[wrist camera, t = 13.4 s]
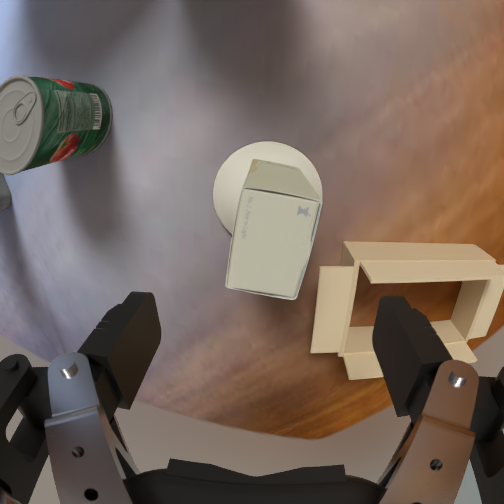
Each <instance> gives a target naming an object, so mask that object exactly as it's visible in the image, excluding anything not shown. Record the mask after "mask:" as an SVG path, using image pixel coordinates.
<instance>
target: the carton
mask: <svg viewBox="0 0 504 504" xmlns="http://www.w3.org/2000/svg"><path fill="white" fill-rule="evenodd" d="M495 261H496V260H495V259H494V258H492V257H491V256H490V255H488V254H487V253H486V252H484V251H483V250H482V249H480V248H479V247H478V246H476V245H475V244H443V243H401V242H347V241H343V251H342V260H341V266H320V269H319V280H318V290H317V300H316V309H315V318H314V327H313V335H312V343H311V350H310V352H311V353H333V352H337V354H338V357H343V359H344V362H345V366H346V370H347V374H348V378H349V380H355V379H367V378H378V377H384V376H383V373H382V371H381V368H380V365H379V362H378V360H377V357H376V354H375V352H374V349H373V345H372V333H373V329H374V326H364V327H349V325H350V319H351V314H352V308H353V303H354V297H355V291H356V285H357V278H358V272H359V266H361V267H362V269H363V271H364V272H365V274H366V276H367V277H368V279H369V281H370V282H371V283H411V282H442V281H462V285H461V288H460V291H459V295H458V298H457V301H456V304H455V307H454V310H453V313H452V316H451V319H450V320H444V321H434V322H430V323H431V325H432V327H433V328H434V329H435V331H436V332H437V335H438V336H439V337H440V339H441V340H442V342H443V343H444V345H445V347H446V348H447V350H448V351H449V353H450V355H451V356H452V358H453V360H460V361H463V362H466V363H473V362H476V361H477V358H476V357H475V355H474V354H473V352H472V351H471V350H470V348H469V347H468V345H467V344H466V343H467V342H468V339H471V338H477V337H483V336H486V333H487V331H488V329H489V326H490V324H491V321H492V319H493V316H494V314H495V311H496V309H497V306H498V303H499V300H500V298H501V295H502V292H503V289H504V265H498V264H496V263H495Z"/></svg>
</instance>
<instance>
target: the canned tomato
mask: <svg viewBox="0 0 504 504" xmlns="http://www.w3.org/2000/svg"><path fill="white" fill-rule="evenodd" d="M111 122H112V107H111V103H110V100H109V98H108V96H107V94H106V93H105V92H104V90H103V89H101V88H100V87H98V86H96V85H94V84H88V83H80V82H74V81H66V80H59V79H49V78H38V77H26V76H14V77H11V78H9V79H8V80H6V81H5V82H4V83H3V84H1V85H0V172H1V173H3V174H6V175H14V174H17V173H19V172H21V171H25V170H29V169H32V168H35V167H39V166H42V165H46V164H50V163H54V162H58V161H62V160H66V159H70V158H74V157H78V156H84V155H88V154H90V153H92V152H94V151H95V150H96V149H97V148H99V147H100V145H101V144H102V143H103V142H104V140H105V139H106V137H107V135H108V132H109V130H110V127H111Z"/></svg>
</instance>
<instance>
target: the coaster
mask: <svg viewBox="0 0 504 504" xmlns="http://www.w3.org/2000/svg"><path fill="white" fill-rule="evenodd" d="M253 159H259V160H265V161H271V162H276V163H281V164H285V165H289V166H294V167H298V168H299V169H300V170H301V172H302V173H303V175H304V176H305V177H306V179H307V180H308V182H309V183H310V184H311V186H312V187H313V189H314V190H315V192H316V193H317V194H318V196H319V197H320V199H321V200H322V185H321V181H320V178H319V175H318V173H317V171H316V169H315V167H314V166H313V164H312V163H311V162H310V161H309V159H308V158H307V157H306V156H304V155H303V154H302V153H301V152H299V151H298V150H296V149H295V148H293V147H291V146H289V145H286V144H283V143H278V142H271V141H264V142H257V143H252V144H249V145H247V146H244V147H242V148H240V149H239V150H237V151H236V152H234V153H233V154H232V155H231V156H230V157H229V158H228V159H227V160H226V161H225V162H224V163H223V165H222V166H221V168H220V170H219V172H218V174H217V176H216V179H215V183H214V189H213V200H214V206H215V210H216V212H217V215H218V217H219V219H220V221H221V223H222V224H223V225H224V227H225V228H226V229H227V230H228V231H229V232H230V233H231V234H232V233H233V227H234V222H235V216H236V211H237V206H238V201H239V197H240V193H241V189H242V187H243V185H244V182H245V180H246V177H247V174H248V172H249V169H250V166H251V163H252V160H253Z"/></svg>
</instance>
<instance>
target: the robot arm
mask: <svg viewBox="0 0 504 504" xmlns="http://www.w3.org/2000/svg"><path fill="white" fill-rule="evenodd" d="M160 341H161V326H160V322H159V317H158V312H157V307H156V302H155V298H154V295H153V294H152V293H150V292H131V293H130V294H129V295H128V296H127V298H126V299H125V300H124V302H123V303H122V304H118V305H116V306H115V307H113V308H112V309H110V310H109V311H108V312H107V313H106V314H105V316H104V317H103V318H102V320H101V322H99V323H98V325H97V326H96V329H94V330H93V331H92V333H91V334H90V335H89V337H88V338H87V339H86V341H85V342H84V343H83V345H82V346H81V347H80V349H79V350H78V351H77V352H69V353H65V354H62V355H60V356H58V357H57V358H55V359H54V360H53V361H52V362H51V364H50V365H49V367H32V366H31V364H30V362H29V360H28V358H27V357H26V356H24V355H22V354H14V355H10V356H8V357H6V358H5V359H3V360H2V361H1V362H0V504H28V503H29V500H30V497H31V495H32V493H33V490H34V488H35V485H36V482H37V480H38V478H39V476H40V473H41V471H42V468H43V466H44V464H45V461H46V459H47V457H48V455H49V456H50V462H51V467H52V472H53V476H54V481H55V485H56V489H57V493H58V496H59V500H60V504H454V501H455V499H456V496H457V494H458V491H459V488H460V486H461V483H462V480H463V477H464V474H465V471H466V467H467V465H468V461H469V458H470V461H471V464H472V468H473V471H474V474H475V478H476V481H477V485H478V489H479V493H480V497H481V500H482V504H504V434H503V431H502V430H503V428H504V367H503V368H502V369H501V371H500V372H499V374H498V376H497V377H481V376H478V374H477V372H476V371H475V369H474V368H473V367H472V366H471V365H469V364H468V363H466V362H463V361H460V360H453V358H452V356H451V355H450V353H449V351H448V350H447V348H446V347H445V345H444V343H443V342H442V340H441V339H440V337H439V336H438V335H437V332H436V331H435V329H434V328H433V327H432V325H431V323H430V322H429V320H428V319H427V317H426V316H425V315H423V314H422V313H421V312H419V311H418V310H417V309H415V308H414V309H412V308H411V307H410V305H409V303H408V302H407V300H406V299H405V297H404V296H402V295H397V296H382V297H381V299H380V302H379V307H378V311H377V316H376V320H375V324H374V329H373V333H372V345H373V349H374V352H375V354H376V357H377V360H378V362H379V365H380V368H381V371H382V373H383V376H384V379H385V382H386V385H387V387H388V390H389V393H390V396H391V399H392V402H393V405H394V408H395V411H396V414H397V417H401V416H407V415H410V417H411V422H410V424H409V425H408V427H407V430H406V432H405V434H404V436H403V438H402V440H401V442H400V444H399V446H398V448H397V449H396V451H395V453H394V455H393V457H392V459H391V461H390V462H389V464H388V466H387V468H386V469H385V471H384V472H383V474H382V475H381V477H380V478H379V480H378V481H377V483H374V482H371V481H369V480H366V479H363V478H359V477H355V476H351V475H345V469H344V465H333V466H320V467H303V468H298V469H293V470H289V471H284V472H280V473H275V474H270V475H265V476H259V477H253V476H248V475H245V474H242V473H238V472H235V471H231V470H228V469H225V468H221V467H218V466H215V465H212V464H205V463H197V462H190V461H183V460H177V459H170V460H169V464H168V467H167V469H157V470H152V471H147V472H143V473H140V471H139V469H138V468H137V466H136V464H135V462H134V461H133V458H132V456H131V454H130V452H129V449H128V447H127V445H126V442H125V440H124V437H123V435H122V432H121V429H120V427H119V424H118V422H117V419H116V417H115V415H114V413H115V411H116V409H117V407H119V408H123V409H128V410H130V408H131V405H132V403H133V401H134V399H135V396H136V394H137V392H138V390H139V387H140V385H141V383H142V381H143V379H144V376H145V374H146V372H147V370H148V368H149V366H150V363H151V361H152V359H153V357H154V355H155V353H156V351H157V348H158V346H159V344H160ZM17 408H18V410H19V411H20V412H21V414H22V415H23V419H22V420H21V422H20V424H19V426H18V427H17V429H16V431H15V433H14V435H13V437H12V439H11V441H10V442H8V440H7V438H6V427H7V425H8V423H9V421H10V420H11V418H12V416H13V415H14V413H15V411H16V410H17Z"/></svg>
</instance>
